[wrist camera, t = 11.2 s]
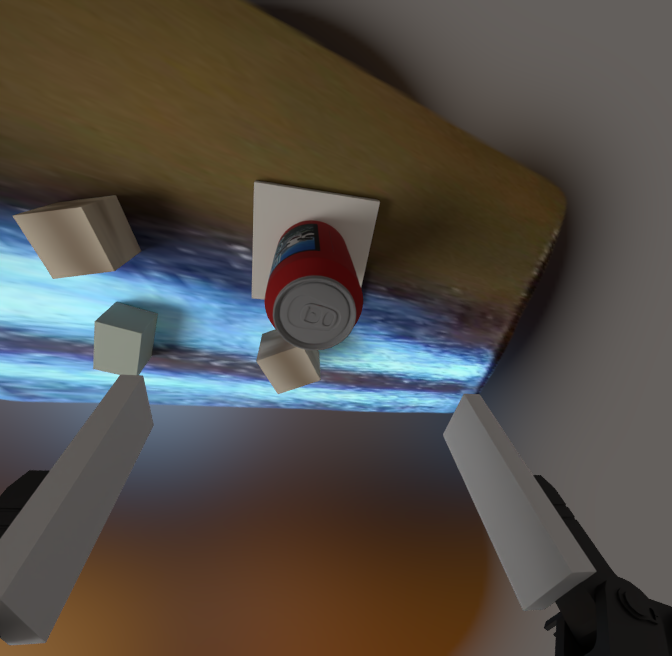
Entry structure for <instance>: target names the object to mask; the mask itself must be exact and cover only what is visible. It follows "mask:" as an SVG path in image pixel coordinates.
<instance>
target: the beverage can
mask: <svg viewBox="0 0 672 656" xmlns="http://www.w3.org/2000/svg"><path fill="white" fill-rule="evenodd" d="M362 307H363V294H362V290H361V287H360V283H359V280H358V277H357V274H356V271H355V268H354V265H353V262H352V259H351V257H350V254H349V251H348V249H347V246H346V243H345V241H344V239H343V237H342V236H341V234H340V233H339V232H338V231H337V230H336V229H335V228H333V227H332V226H330V225H329V224H327V223H324V222H321V221H315V220H308V221H302V222H299V223H297V224H294V225H293V226H291V227H290V228H288V229H287V230H286V231H285V232H284V234H283V235H282V236H281V238H280V240H279V242H278V245H277V248H276V252H275V255H274V259H273V263H272V267H271V271H270V275H269V279H268V284H267V288H266V293H265V309H266V313H267V316H268V318H269V320H270V322H271V323H272V325H273V326H274V327H275V329H276V330H277V331H278V333H279V334H280V335H281V336H282V338H283V339H284V340H286V341H287V342H288V343H290V344H292V345H293V346H296V347H298V348H301V349H305V350H323V349H327V348H330V347H333V346H335V345H337V344H339V343H340V342H342V341H343V340H344V339H345V338H346V337H347V336H348V335H349V334H350V332H351V331H352V329H353V327H354V326H355V324H356V323H357V321H358V319H359V317H360V314H361V311H362Z"/></svg>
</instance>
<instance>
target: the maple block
mask: <svg viewBox="0 0 672 656" xmlns="http://www.w3.org/2000/svg"><path fill="white" fill-rule="evenodd" d="M256 361H257V363H258V364H259V366H260V367H261V369H262V370H263V372H264V374H265V375H266V377H267V378H268V380H269V381H270V383H271V384H272V386H273V387H274V389H275V390H276V392H277V393H278V394H280V393H283V392H286V391H289V390H292V389H295V388H298V387H301V386H304V385H307V384H310V383H313V382H316V381H320V380H321V379H320V359H319V351H318V350H305V349H301V348H298V347H296V346H293V345H292V344H290V343H288V342H287V341H286V340H284V339H283V338H282V336H281V335H280V334H279V333H278V331H277V330H276V329H275V330H272V331H270V332H267V333H264V334H262V338H261V342H260V347H259V351H258V356H257V360H256Z"/></svg>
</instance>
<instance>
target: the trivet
mask: <svg viewBox="0 0 672 656" xmlns="http://www.w3.org/2000/svg"><path fill="white" fill-rule="evenodd" d="M379 204H380V201H379V200H376V199H370V198H364V197H357V196H351V195H345V194H339V193H332V192H326V191H320V190H313V189H307V188H301V187H295V186H288V185H282V184H276V183H269V182H263V181H257V180H256V181H255V182H254V216H253V265H252V298H255V299H265V293H266V288H267V284H268V279H269V275H270V271H271V267H272V263H273V259H274V255H275V252H276V248H277V245H278V242H279V240H280V238H281V236H282V235H283V234H284V232H285V231H286V230H287V229H288V228H290V227H291V226H293V225H294V224H297V223H299V222H302V221H308V220H315V221H321V222H324V223H327V224H329V225H330V226H332V227H333V228H335V229H336V230H337V231H338V232H339V233H340V234H341V236H342V237H343V239H344V241H345V243H346V246H347V249H348V251H349V254H350V257H351V259H352V262H353V265H354V268H355V271H356V274H357V277H358V280H359V283H360V287H361V286H362V282H363V277H364V272H365V268H366V263H367V259H368V254H369V250H370V245H371V241H372V236H373V232H374V227H375V223H376V218H377V213H378V209H379Z"/></svg>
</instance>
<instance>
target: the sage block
mask: <svg viewBox="0 0 672 656" xmlns="http://www.w3.org/2000/svg"><path fill="white" fill-rule="evenodd" d="M157 316H158V313H154V312H150V311H147V310H143V309H140V308H136V307H132V306H129V305H125V304H122V303H118V302H116V303H114V304H113V305H112V306H111V307H110V308H109V309H108V310H107V311H106V312H105V313H103V314H102V315H101V316H100V317H99V318H98V319H97V320H96V321H95V331H94V366H93V369H96V370H101V371H105V372H110V373H114V374H119V375H121V374H123V375H139V374H140V372H141V371H142V369H143V368H144V367H145V365H146V364H147V362H148V361H149V359H150V358H151V356H152V350H153V343H154V336H155V330H156V323H157Z"/></svg>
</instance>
